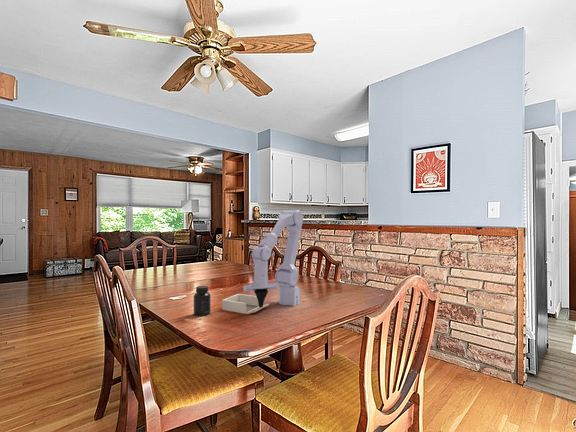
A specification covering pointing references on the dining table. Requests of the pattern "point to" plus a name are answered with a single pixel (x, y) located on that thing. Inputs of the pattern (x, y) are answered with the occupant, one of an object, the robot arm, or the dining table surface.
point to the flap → (258, 309)
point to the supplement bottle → (202, 301)
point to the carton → (240, 303)
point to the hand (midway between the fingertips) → (260, 306)
